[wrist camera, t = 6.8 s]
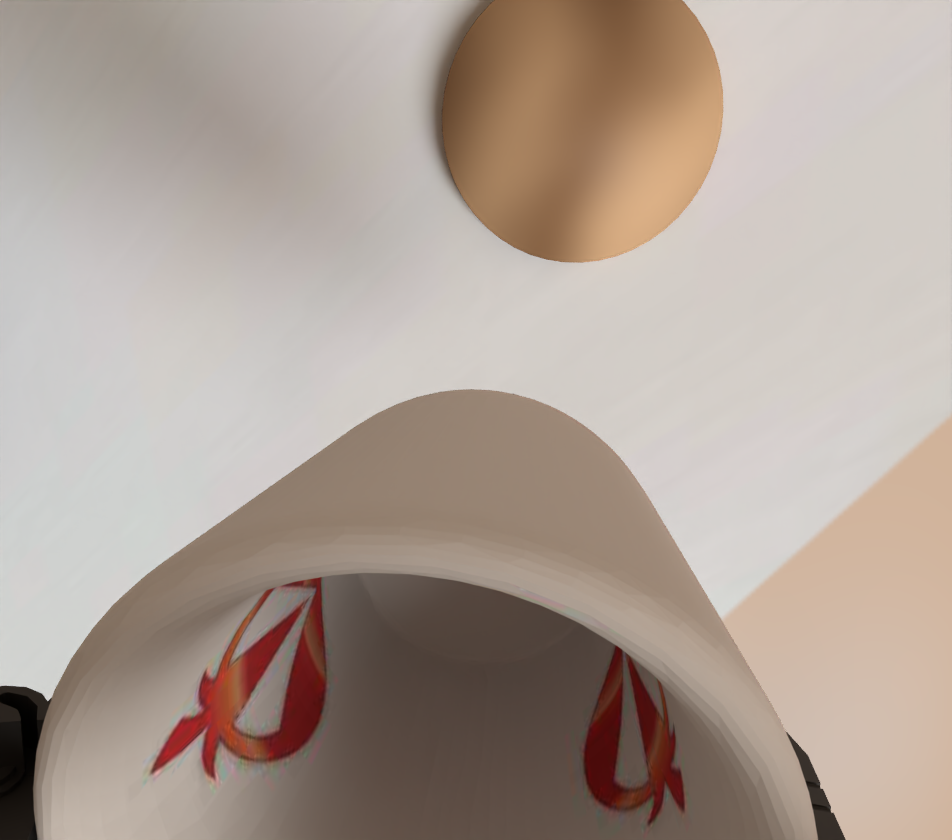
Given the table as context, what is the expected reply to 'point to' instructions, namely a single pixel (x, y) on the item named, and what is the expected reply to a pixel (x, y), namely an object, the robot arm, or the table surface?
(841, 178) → the table surface
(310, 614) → the cup
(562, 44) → the coaster
